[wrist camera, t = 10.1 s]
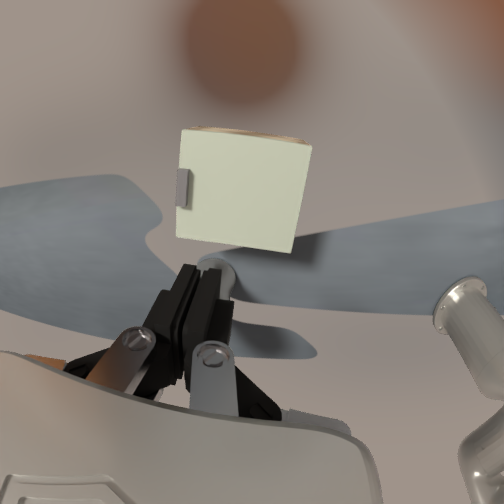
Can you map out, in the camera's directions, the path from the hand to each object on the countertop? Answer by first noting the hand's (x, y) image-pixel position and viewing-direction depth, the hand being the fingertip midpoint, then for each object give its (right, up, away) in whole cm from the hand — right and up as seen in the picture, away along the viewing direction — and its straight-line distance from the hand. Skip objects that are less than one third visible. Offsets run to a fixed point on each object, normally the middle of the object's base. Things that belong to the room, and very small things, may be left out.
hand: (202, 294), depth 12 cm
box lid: (+1, +8, +15) cm, 17 cm away
